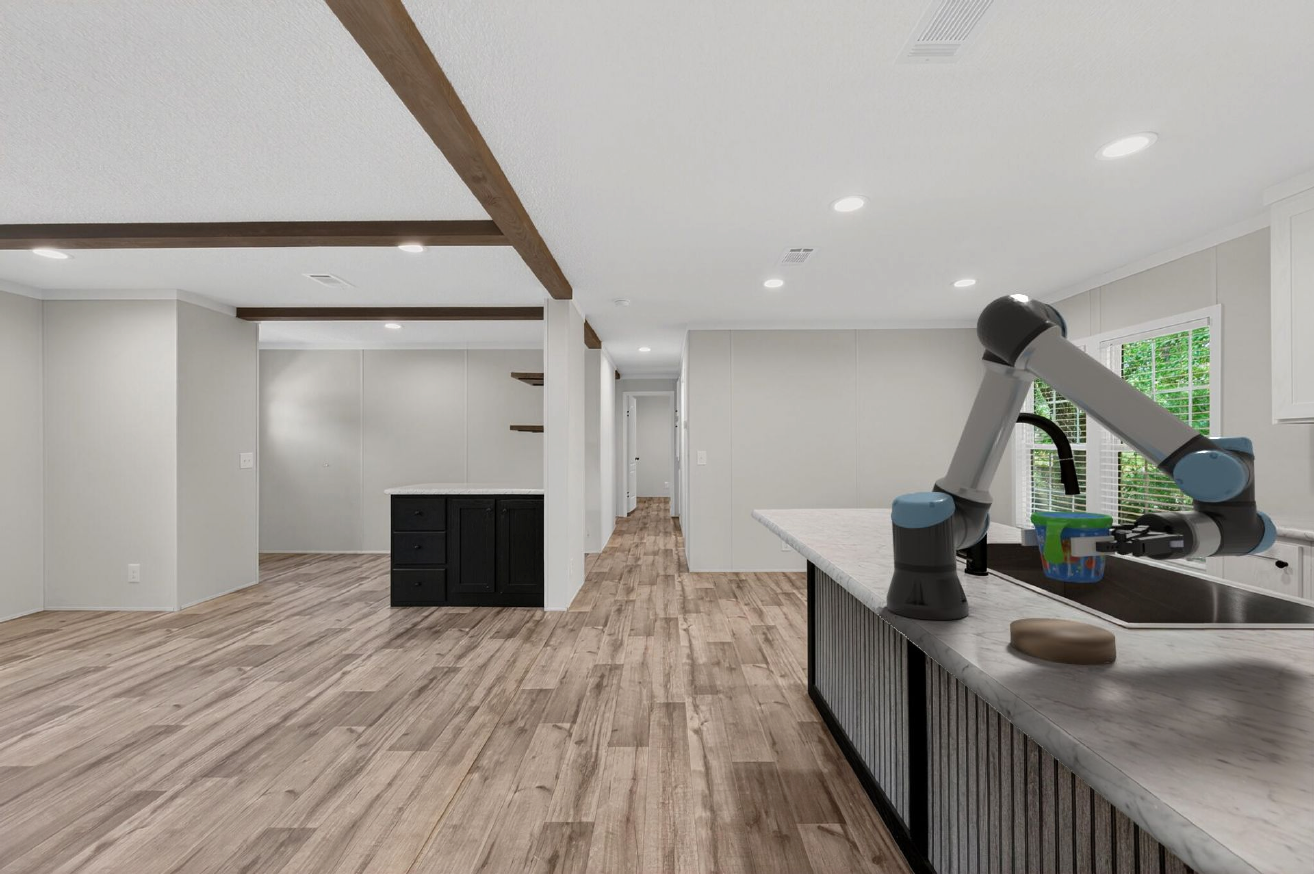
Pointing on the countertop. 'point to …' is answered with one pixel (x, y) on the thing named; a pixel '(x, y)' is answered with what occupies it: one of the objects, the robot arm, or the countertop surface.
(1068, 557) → the snack cup
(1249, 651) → the countertop surface
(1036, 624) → the walnut pedestal
